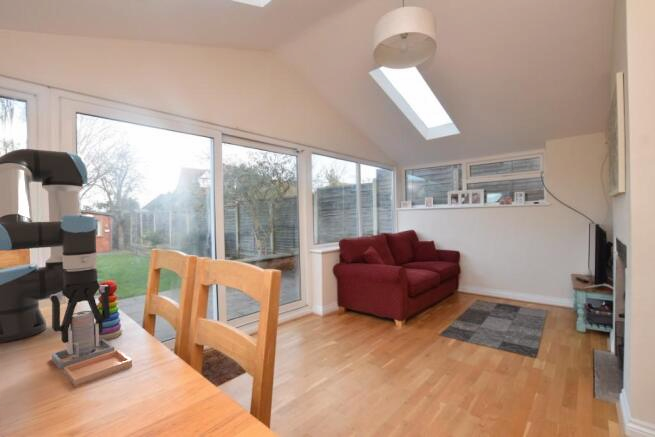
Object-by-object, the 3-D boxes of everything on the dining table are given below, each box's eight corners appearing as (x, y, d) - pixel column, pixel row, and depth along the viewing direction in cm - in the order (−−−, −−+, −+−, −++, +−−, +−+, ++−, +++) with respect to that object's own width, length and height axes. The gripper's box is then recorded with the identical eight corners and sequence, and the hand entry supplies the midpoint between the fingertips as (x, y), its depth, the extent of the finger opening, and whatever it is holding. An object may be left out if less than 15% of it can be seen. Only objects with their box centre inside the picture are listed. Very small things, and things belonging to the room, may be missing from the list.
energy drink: (92, 348, 90) (91, 309, 90) (97, 354, 87) (96, 313, 87) (69, 355, 86) (67, 314, 86) (73, 361, 83) (72, 318, 82)
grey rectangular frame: (51, 359, 85) (51, 353, 85) (103, 344, 94) (102, 338, 94) (60, 370, 78) (60, 363, 78) (114, 353, 88) (114, 346, 88)
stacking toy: (106, 342, 95) (104, 283, 95) (86, 340, 97) (84, 283, 97) (127, 332, 103) (126, 278, 103) (108, 331, 105) (106, 277, 104)
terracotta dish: (63, 374, 77) (63, 367, 77) (118, 355, 86) (118, 349, 86) (74, 387, 71) (74, 380, 71) (132, 366, 80) (131, 359, 80)
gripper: (39, 276, 76) (42, 366, 77) (122, 265, 91) (124, 340, 91) (33, 272, 81) (36, 357, 81) (113, 262, 95) (115, 334, 96)
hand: (83, 348), depth 86 cm, fingers closed on energy drink, 5 cm apart
